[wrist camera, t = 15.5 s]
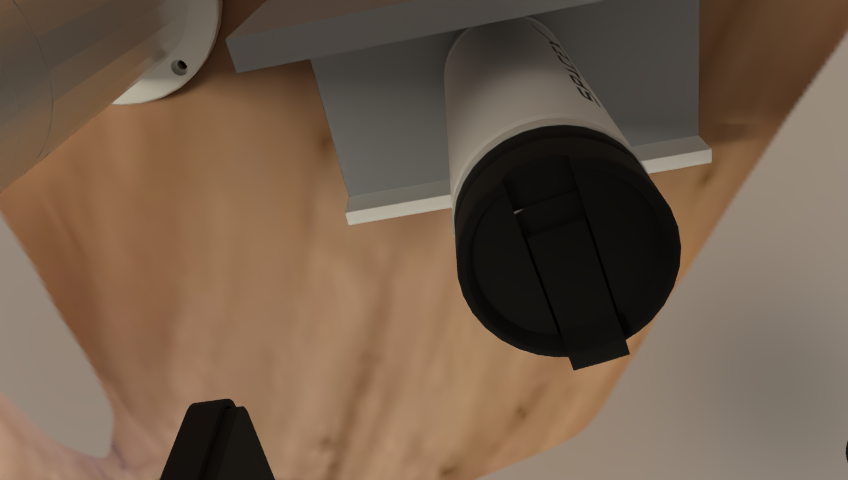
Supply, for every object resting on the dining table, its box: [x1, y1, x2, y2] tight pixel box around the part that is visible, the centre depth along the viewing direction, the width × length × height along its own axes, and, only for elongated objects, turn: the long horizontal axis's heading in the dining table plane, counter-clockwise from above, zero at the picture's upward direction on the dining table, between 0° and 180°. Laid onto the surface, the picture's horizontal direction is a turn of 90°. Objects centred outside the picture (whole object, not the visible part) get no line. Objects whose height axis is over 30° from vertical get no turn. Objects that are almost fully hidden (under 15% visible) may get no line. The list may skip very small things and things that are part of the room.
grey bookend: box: [225, 0, 712, 225], centre depth 31 cm, size 20×13×14 cm, turn 101°
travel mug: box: [444, 15, 681, 370], centre depth 27 cm, size 6×7×20 cm
